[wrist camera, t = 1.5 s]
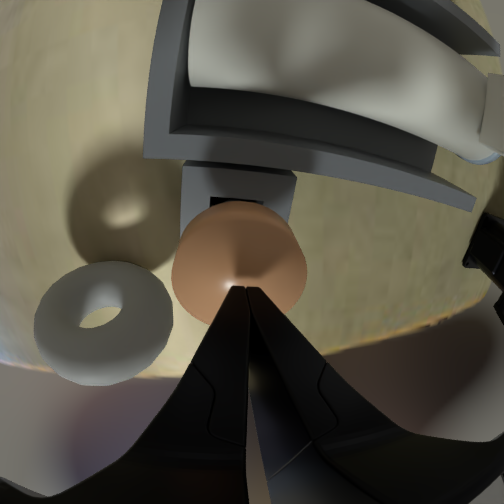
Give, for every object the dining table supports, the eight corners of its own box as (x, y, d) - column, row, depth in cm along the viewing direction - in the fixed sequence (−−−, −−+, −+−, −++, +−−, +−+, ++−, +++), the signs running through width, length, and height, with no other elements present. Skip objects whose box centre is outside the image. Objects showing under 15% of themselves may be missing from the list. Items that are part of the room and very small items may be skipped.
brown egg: (284, 176, 13) (322, 227, 8) (269, 254, 15) (290, 330, 10) (191, 167, 12) (170, 214, 7) (187, 249, 14) (174, 326, 9)
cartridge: (453, 75, 12) (554, 95, 4) (440, 150, 15) (537, 200, 7) (215, -5, 9) (208, -101, 1) (198, 91, 12) (159, 74, 5)
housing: (443, 44, 11) (500, 44, 6) (398, 241, 20) (439, 285, 15) (198, -32, 9) (189, -80, 3) (167, 220, 17) (147, 273, 12)
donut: (74, 286, 19) (28, 380, 11) (63, 252, 18) (1, 345, 9) (184, 289, 20) (169, 406, 12) (179, 251, 19) (155, 372, 10)
